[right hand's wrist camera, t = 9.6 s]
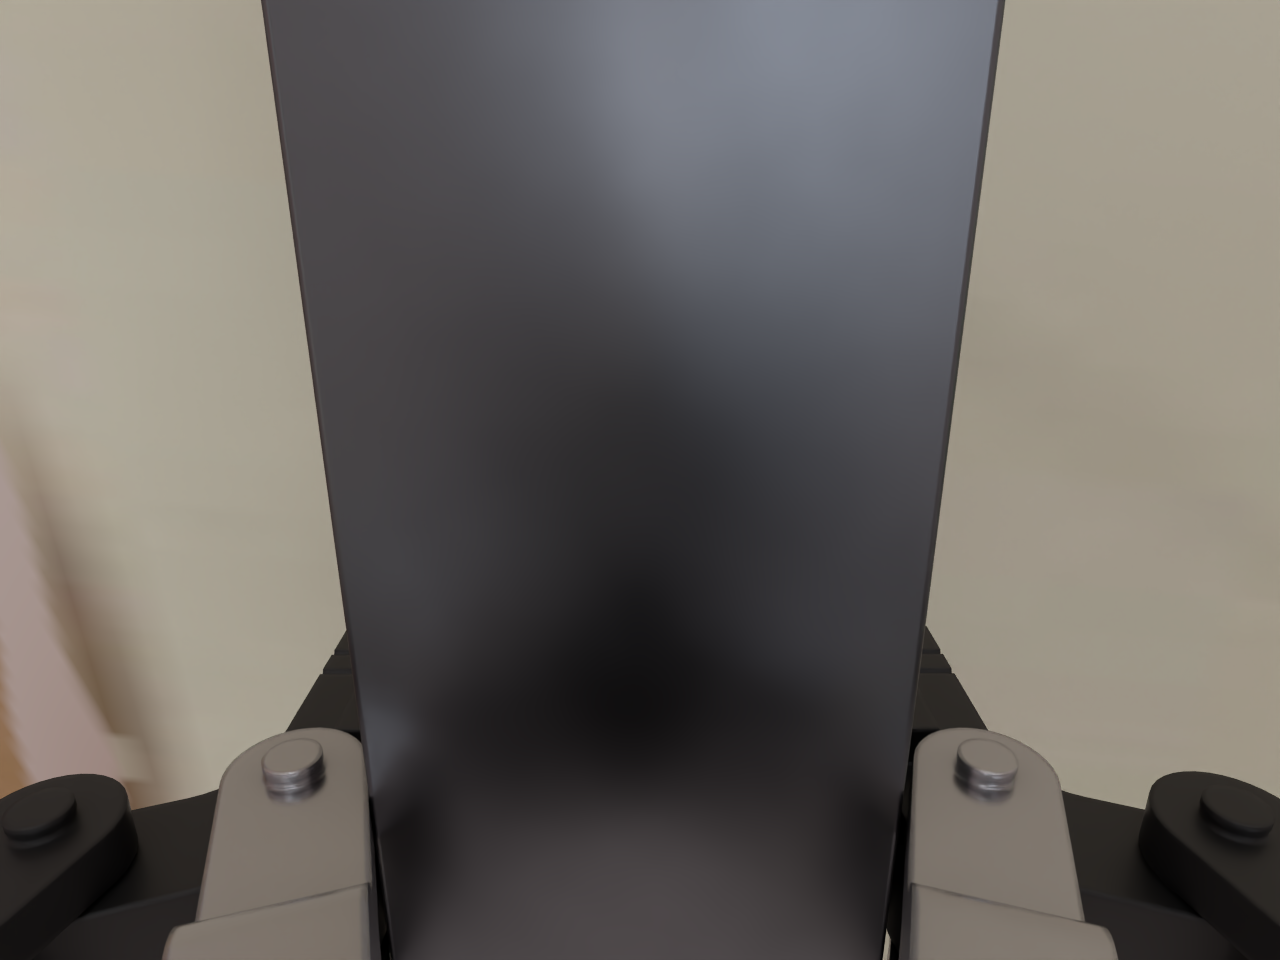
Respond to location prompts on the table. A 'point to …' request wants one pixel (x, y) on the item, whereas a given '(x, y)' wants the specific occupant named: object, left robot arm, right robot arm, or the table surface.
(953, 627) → the table surface
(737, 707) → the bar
